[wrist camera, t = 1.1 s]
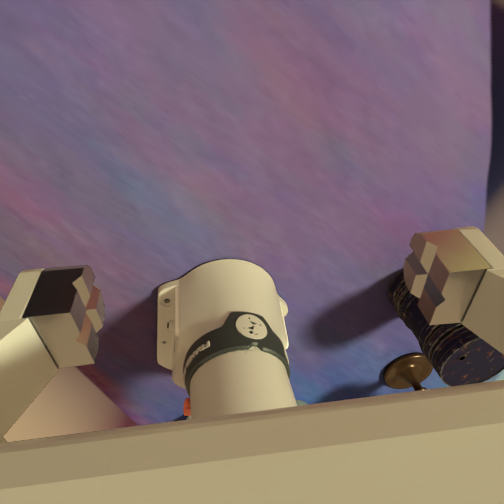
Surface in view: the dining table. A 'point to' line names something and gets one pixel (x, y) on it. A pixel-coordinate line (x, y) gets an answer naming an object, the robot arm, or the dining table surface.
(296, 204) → the dining table surface
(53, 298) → the robot arm
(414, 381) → the candlestick
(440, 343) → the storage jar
